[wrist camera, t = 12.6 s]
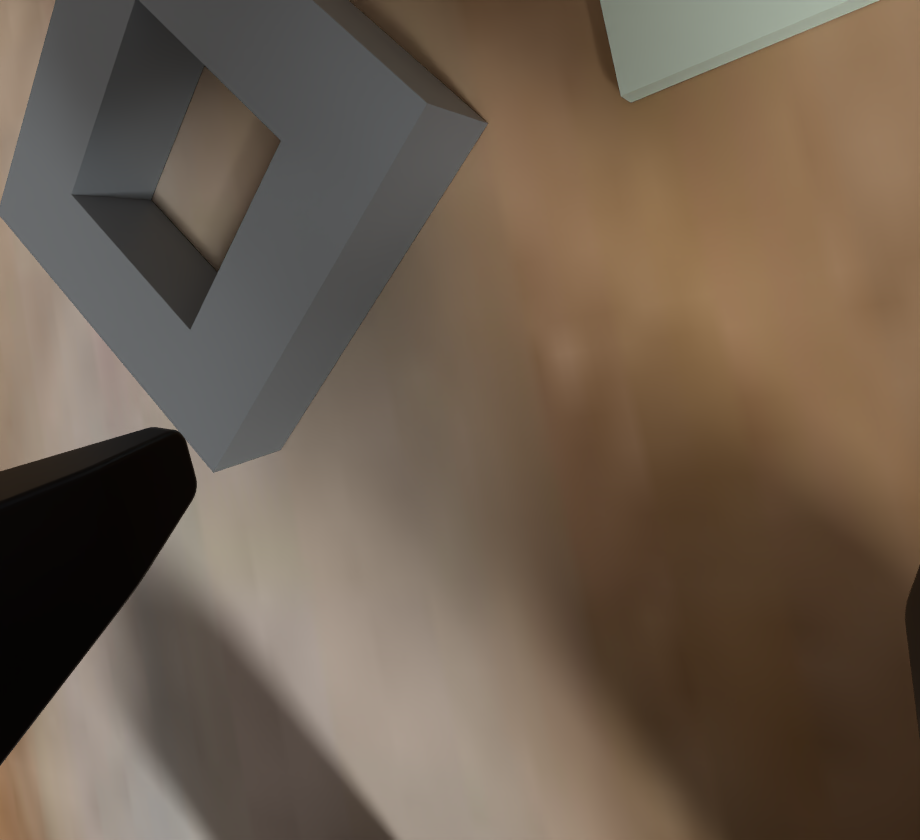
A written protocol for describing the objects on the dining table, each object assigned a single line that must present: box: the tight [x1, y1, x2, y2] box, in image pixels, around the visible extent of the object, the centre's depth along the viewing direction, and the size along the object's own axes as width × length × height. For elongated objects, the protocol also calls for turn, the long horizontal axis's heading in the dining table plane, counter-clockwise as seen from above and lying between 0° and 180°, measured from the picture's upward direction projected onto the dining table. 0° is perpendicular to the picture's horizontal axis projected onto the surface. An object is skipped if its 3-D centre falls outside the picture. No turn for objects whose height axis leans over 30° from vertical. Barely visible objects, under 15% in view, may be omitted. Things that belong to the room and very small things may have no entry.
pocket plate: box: [0, 0, 488, 473], centre depth 22 cm, size 13×13×3 cm
